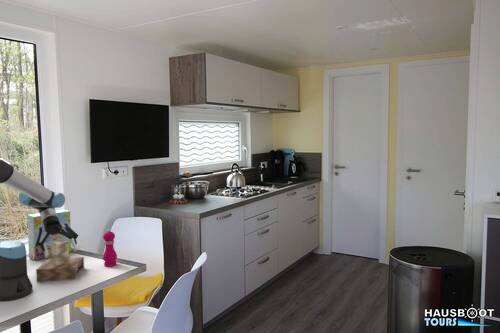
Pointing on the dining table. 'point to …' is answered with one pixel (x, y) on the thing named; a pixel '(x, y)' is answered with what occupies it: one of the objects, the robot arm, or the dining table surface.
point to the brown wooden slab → (59, 270)
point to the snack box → (33, 233)
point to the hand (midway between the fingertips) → (62, 253)
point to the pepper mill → (109, 249)
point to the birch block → (60, 252)
